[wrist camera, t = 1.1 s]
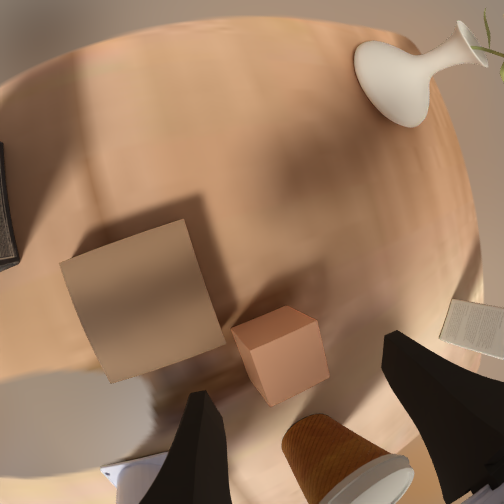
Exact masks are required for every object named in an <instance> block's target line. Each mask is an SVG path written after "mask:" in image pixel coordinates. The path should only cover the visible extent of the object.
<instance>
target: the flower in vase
mask: <svg viewBox="0 0 504 504" xmlns="http://www.w3.org/2000/svg"><path fill="white" fill-rule="evenodd" d="M503 16H504V15H503ZM484 21H485V27H486V30H487V36H488V42H489V48H490V31H489V27H488V24H487V21H486V16H485V12H484ZM484 51H487V52H489V53H492V54H495V55H498V56H501V57H504V54H502V53H499V52H496V51H493V50H490V49H487V48H484V47H482V46H481V45H480V43H479V42H478V40H477V38H476V37H475V36H474V34H473V33H472V32H471V30H470V29H469V28H468V27H467V26H466V25H465V24H464V23H463V22H461V21H459V20H458V21H457V22H456V27H455V29H454V32H453V33H452V35H451V36H450V37H449V38H448V39H447V40H446V41H445V42H444V43H442V44H441V45H439V46H438V47H436V48H435V49H433V50H431V51H429V52H427V53H425V54H422V55H412V54H409V53H407V52H405V51H403V50H401V49H399V48H397V47H395V46H393V45H390V44H387V43H384V42H380V41H368V42H364V43H362V44H360V45H359V46H358V47H357V49H356V51H355V57H354V67H355V72H356V75H357V78H358V81H359V83H360V85H361V87H362V89H363V91H364V92H365V94H366V96H367V97H368V98H369V100H370V101H371V102H372V104H373V105H374V106H375V107H376V108H377V109H378V110H379V111H380V112H381V113H382V114H383V115H384V116H385V117H387V118H388V119H389V120H391V121H393V122H394V123H397V124H399V125H402V126H405V127H416V126H418V125H419V124H420V123H421V122H422V121H423V120H424V119H425V117H426V115H427V112H428V108H429V82H430V79H431V77H432V76H433V75H434V74H435V73H436V72H439V71H440V70H442V69H445V68H447V67H450V66H454V65H457V64H464V63H474V64H479V65H481V66H484V67H488V60H487V57H486V54H485V52H484ZM500 76H501V78H502V80H503V82H504V62H503V64H502V67H501V70H500Z"/></svg>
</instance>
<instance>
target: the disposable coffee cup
mask: <svg viewBox="0 0 504 504" xmlns="http://www.w3.org/2000/svg"><path fill="white" fill-rule="evenodd" d="M282 451H283V453H284V455H285V457H286V459H287V461H288V463H289V465H290V467H291V469H292V471H293V473H294V476H295V477H296V480H297V482H298V484H299V486H300V488H301V490H302V492H303V494H304V496H305V498H306V499H307V502H308V503H309V504H395V503H396V502H397V501H398V500H399V499H400V498H401V497H402V495H403V494H404V493H405V492H406V490H407V489H408V487H409V486H410V484H411V482H412V480H413V477H414V471H413V468H412V467H411V466H410V465H409V460H408V458H407V457H405V456H404V455H397V454H391V453H389V452H387V451H385V450H384V449H382V448H380V447H378V446H377V445H375V444H373V443H371V442H370V441H368V440H366V439H365V438H363V437H361V436H359V435H358V434H356V433H354V432H353V431H351V430H349V429H348V428H346V427H345V426H343V425H341V424H340V423H338V422H337V421H335V420H334V419H332V418H330V417H329V416H327V415H324V414H316V415H311V416H308V417H306V418H304V419H302V420H300V421H299V422H297V423H296V424H294V425H293V426H292V427H291V428H290V429H289V430H288V431H287V433H286V434H285V436H284V438H283V440H282Z"/></svg>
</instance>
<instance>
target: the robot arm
mask: <svg viewBox="0 0 504 504" xmlns="http://www.w3.org/2000/svg"><path fill="white" fill-rule="evenodd" d="M381 368H382V371H383V373H384V375H385V377H386V379H387V381H388V383H389V385H390V387H391V389H392V390H393V392H394V393H395V395H396V396H397V398H398V399H399V401H400V402H401V404H402V405H403V407H404V408H405V410H406V411H407V413H408V414H409V416H410V417H411V419H412V420H413V422H414V423H415V425H416V427H417V429H418V430H419V432H420V434H421V436H422V439H423V441H424V443H425V445H426V447H427V450H428V452H429V455H430V457H431V459H432V462H433V464H434V467H435V470H436V473H437V476H438V479H439V483H440V486H441V489H442V494H443V498H444V501H445V503H446V504H451V503H452V502H454V501H456V500H457V499H458V498H460V497H462V496H463V495H465V494H466V493H468V492H469V491H470V490H471V492H472V494H473V495H472V496H471V497H469V498H468V499H467V500H465V501H464V502H462V503H461V504H504V382H501V381H497V380H493V379H490V378H487V377H484V376H481V375H479V374H476V373H474V372H471V371H469V370H466V369H464V368H462V367H460V366H458V365H456V364H454V363H452V362H450V361H448V360H446V359H444V358H442V357H441V356H439V355H437V354H435V353H434V352H432V351H430V350H429V349H427V348H425V347H424V346H422V345H420V344H419V343H417V342H416V341H414V340H412V339H411V338H409V337H408V336H406V335H404V334H403V333H401V332H400V331H398V330H396V331H394V332H392V333H389V334H387V335H385V336H384V347H383V357H382V366H381ZM100 471H101V472H102V473H103V474H104V475H105V476H106V477H107V479H108V480H109V481H110V482H111V483H112V484H113V485H114V486H115V487H116V488H117V497H116V504H232V501H231V496H230V489H229V478H228V462H227V445H226V436H225V430H224V424H223V419H222V416H221V415H220V413H219V411H218V410H217V408H216V407H215V405H214V403H213V402H212V400H211V398H210V397H209V395H208V393H207V392H206V390H205V391H199V392H194V393H191V394H190V395H189V398H188V401H187V404H186V407H185V411H184V414H183V417H182V419H181V422H180V425H179V428H178V430H177V433H176V436H175V438H174V441H173V443H172V446H171V448H170V450H169V452H163V453H159V454H155V455H151V456H147V457H143V458H139V459H134V460H130V461H125V462H120V463H115V464H109V465H103V466H101V467H100ZM107 472H108V473H107Z"/></svg>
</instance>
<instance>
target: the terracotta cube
mask: <svg viewBox="0 0 504 504" xmlns="http://www.w3.org/2000/svg"><path fill="white" fill-rule="evenodd" d="M231 331H232V333H233V336H234V339H235V342H236V344H237V347H238V350H239V353H240V355H241V358H242V361H243V363H244V366H245V369H246V371H247V374H248V376H249V379H250V380H251V381H252V383H253V384H254V386H255V387H256V388H257V390H258V391H259V393H260V394H261V395H262V397H263V398H264V399H265V401H266V402H267V403H268V405H269V406H270V407H272V406H275V405H277V404H279V403H281V402H283V401H285V400H287V399H289V398H291V397H293V396H295V395H297V394H299V393H301V392H303V391H305V390H307V389H309V388H311V387H313V386H315V385H316V384H318V383H320V382H322V381H324V380H326V379H327V378H329V377H330V375H329V370H328V366H327V361H326V357H325V352H324V348H323V343H322V339H321V335H320V330H319V326H318V322H317V320H316V319H314V318H312V317H309V316H307V315H305V314H303V313H301V312H299V311H297V310H295V309H293V308H291V307H289V306H287V305H286V306H283V307H281V308H279V309H276V310H274V311H272V312H269V313H267V314H264V315H262V316H260V317H257V318H255V319H252V320H250V321H247V322H245V323H242V324H240V325H237V326H235V327H232V328H231Z"/></svg>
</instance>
